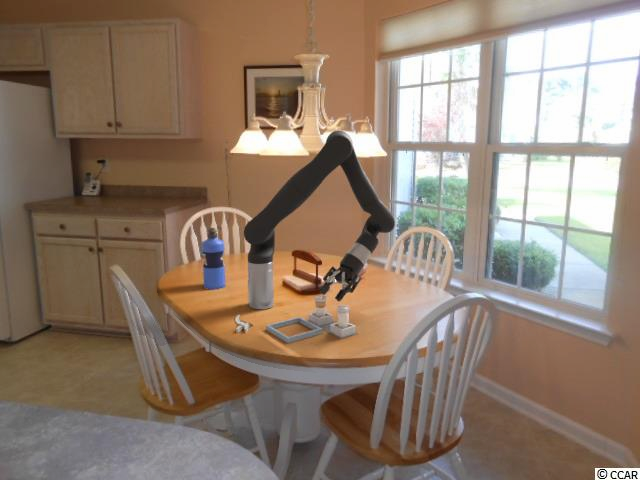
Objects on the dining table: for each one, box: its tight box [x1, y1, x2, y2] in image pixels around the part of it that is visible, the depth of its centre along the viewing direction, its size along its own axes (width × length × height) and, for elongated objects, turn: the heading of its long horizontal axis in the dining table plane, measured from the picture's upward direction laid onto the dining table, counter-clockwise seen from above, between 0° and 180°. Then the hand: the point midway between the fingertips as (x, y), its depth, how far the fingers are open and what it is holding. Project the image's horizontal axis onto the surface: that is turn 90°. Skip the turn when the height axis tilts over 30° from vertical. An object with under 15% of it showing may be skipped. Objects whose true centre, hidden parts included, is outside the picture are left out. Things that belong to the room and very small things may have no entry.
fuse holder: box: [306, 311, 359, 340], centre depth 158 cm, size 19×7×4 cm, turn 36°
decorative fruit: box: [357, 262, 368, 278], centre depth 217 cm, size 9×8×10 cm
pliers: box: [235, 314, 254, 334], centre depth 163 cm, size 10×2×15 cm
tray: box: [265, 316, 324, 344], centre depth 155 cm, size 13×13×2 cm
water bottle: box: [200, 227, 226, 290], centre depth 203 cm, size 9×9×25 cm
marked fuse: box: [314, 295, 327, 318], centre depth 162 cm, size 4×4×8 cm
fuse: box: [336, 304, 350, 329], centre depth 153 cm, size 4×4×8 cm
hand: (329, 296), depth 164 cm, fingers open, 8 cm apart
